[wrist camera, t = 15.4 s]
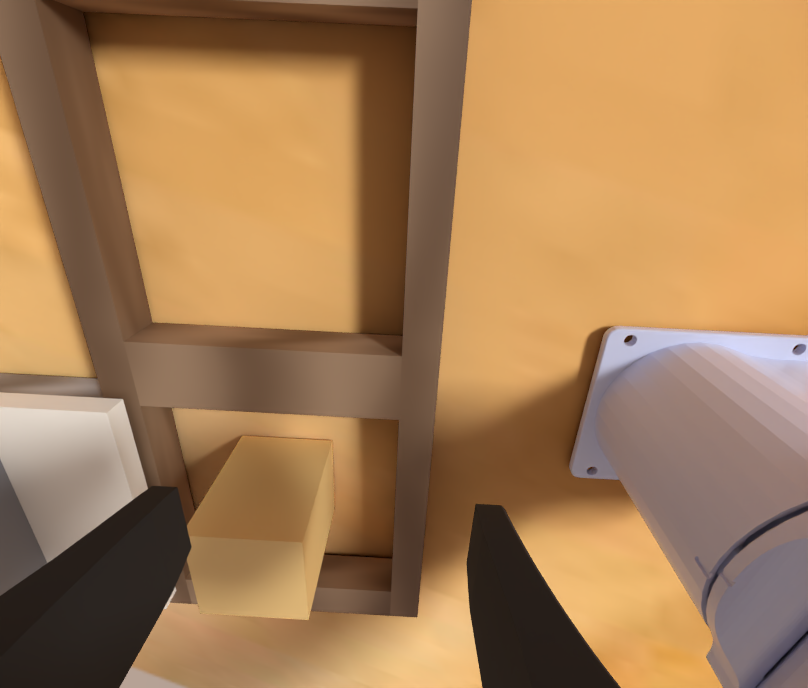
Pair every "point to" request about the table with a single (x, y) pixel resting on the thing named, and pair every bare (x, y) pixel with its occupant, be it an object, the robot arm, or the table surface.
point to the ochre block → (264, 529)
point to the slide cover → (60, 475)
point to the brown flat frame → (238, 346)
